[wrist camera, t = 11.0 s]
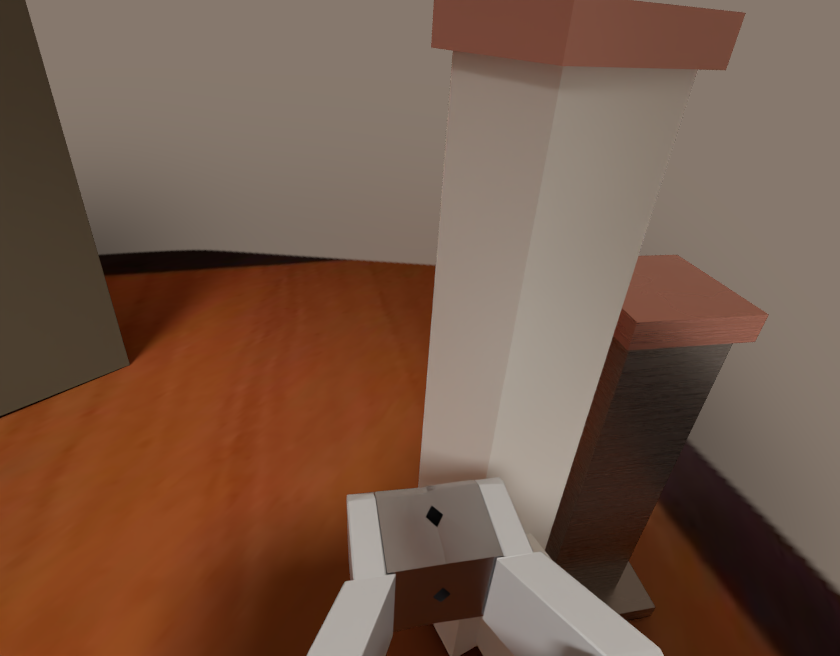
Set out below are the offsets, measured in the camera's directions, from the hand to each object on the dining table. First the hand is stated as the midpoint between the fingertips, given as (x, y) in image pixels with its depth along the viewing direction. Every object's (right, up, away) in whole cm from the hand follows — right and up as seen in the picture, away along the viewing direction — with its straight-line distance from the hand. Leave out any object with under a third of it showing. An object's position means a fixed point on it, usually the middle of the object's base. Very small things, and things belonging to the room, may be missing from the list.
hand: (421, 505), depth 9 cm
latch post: (+6, -6, +10) cm, 13 cm away
